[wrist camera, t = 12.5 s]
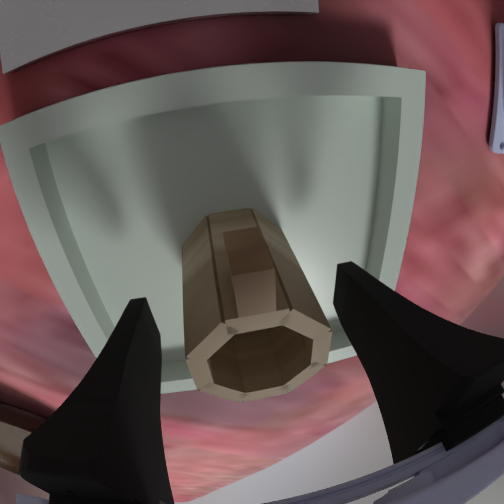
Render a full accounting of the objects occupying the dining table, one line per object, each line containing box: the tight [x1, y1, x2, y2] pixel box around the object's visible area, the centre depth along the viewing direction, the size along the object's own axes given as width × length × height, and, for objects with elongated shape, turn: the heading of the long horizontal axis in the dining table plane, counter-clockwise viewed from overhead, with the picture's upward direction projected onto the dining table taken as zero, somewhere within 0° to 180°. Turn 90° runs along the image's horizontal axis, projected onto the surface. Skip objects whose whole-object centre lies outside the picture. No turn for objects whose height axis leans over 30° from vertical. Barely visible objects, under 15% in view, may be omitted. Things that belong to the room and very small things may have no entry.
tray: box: [0, 61, 426, 393], centre depth 14 cm, size 16×16×2 cm
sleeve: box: [182, 208, 333, 402], centre depth 12 cm, size 4×6×6 cm
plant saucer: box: [0, 403, 47, 475], centre depth 22 cm, size 21×21×3 cm
